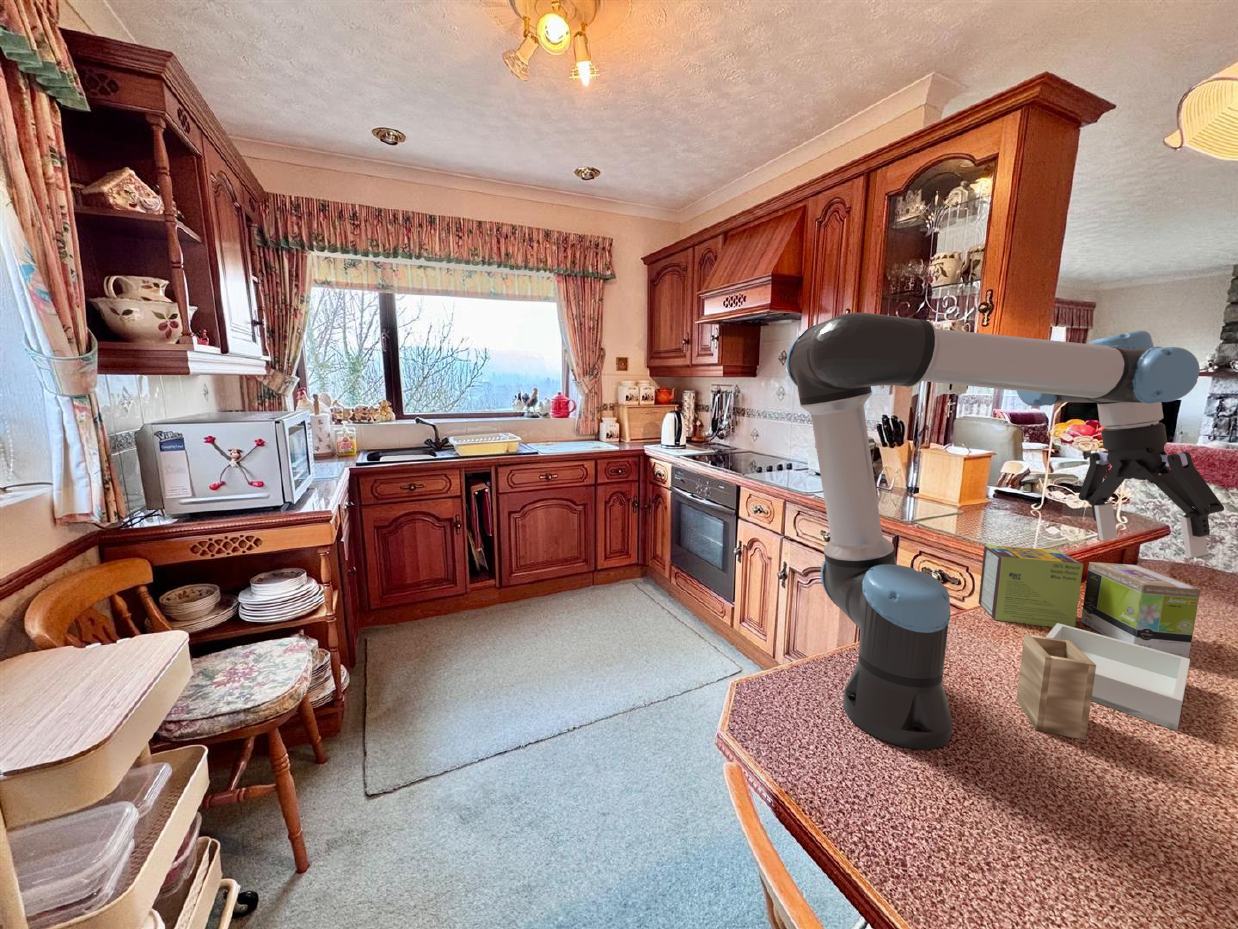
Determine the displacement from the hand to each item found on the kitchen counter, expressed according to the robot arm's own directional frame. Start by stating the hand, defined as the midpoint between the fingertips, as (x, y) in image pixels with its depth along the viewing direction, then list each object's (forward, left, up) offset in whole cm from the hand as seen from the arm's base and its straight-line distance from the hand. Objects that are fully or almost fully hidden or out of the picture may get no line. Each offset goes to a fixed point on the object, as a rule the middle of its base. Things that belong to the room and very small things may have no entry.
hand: (1149, 546), depth 84 cm
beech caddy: (-7, -23, -26) cm, 35 cm away
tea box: (-2, +26, -26) cm, 37 cm away
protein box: (-20, +22, -26) cm, 40 cm away
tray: (-3, -1, -26) cm, 26 cm away
